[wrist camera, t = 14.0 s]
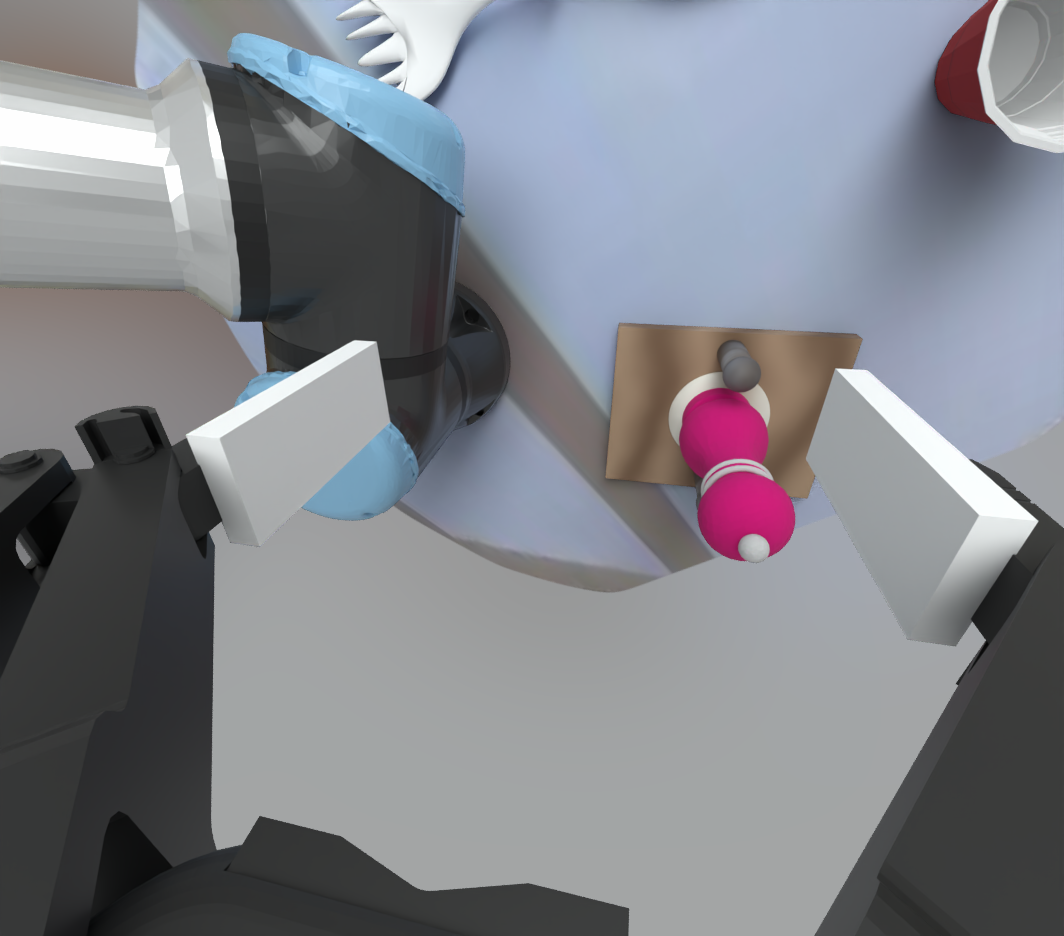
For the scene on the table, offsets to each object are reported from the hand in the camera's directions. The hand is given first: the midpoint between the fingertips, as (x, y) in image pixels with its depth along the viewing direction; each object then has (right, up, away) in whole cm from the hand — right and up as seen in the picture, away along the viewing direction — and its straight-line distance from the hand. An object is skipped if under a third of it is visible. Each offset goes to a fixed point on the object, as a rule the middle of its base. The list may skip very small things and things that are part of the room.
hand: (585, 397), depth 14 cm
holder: (+16, +3, +33) cm, 37 cm away
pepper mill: (+16, +3, +32) cm, 36 cm away
